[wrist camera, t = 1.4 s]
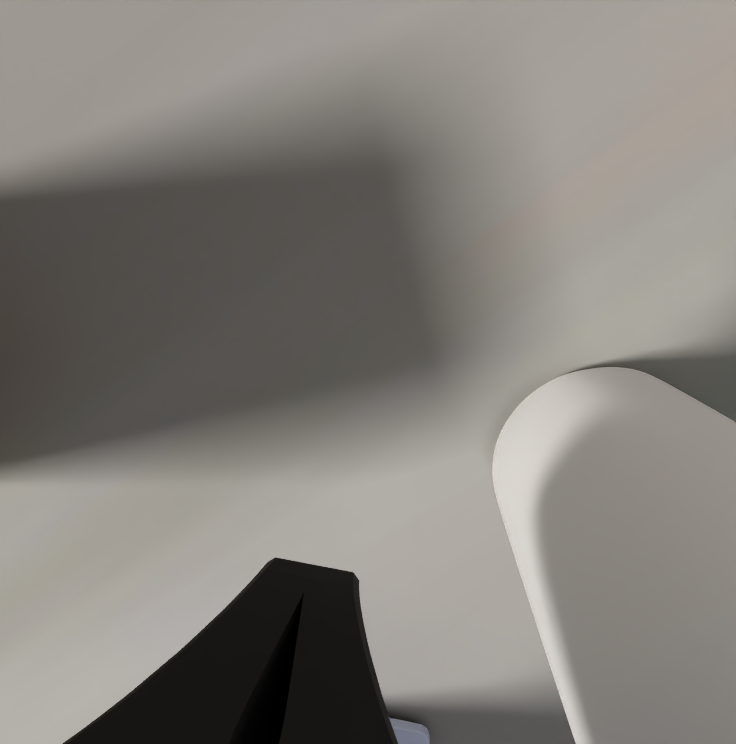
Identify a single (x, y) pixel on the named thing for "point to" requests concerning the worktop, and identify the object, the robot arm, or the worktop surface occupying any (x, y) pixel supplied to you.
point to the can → (627, 552)
